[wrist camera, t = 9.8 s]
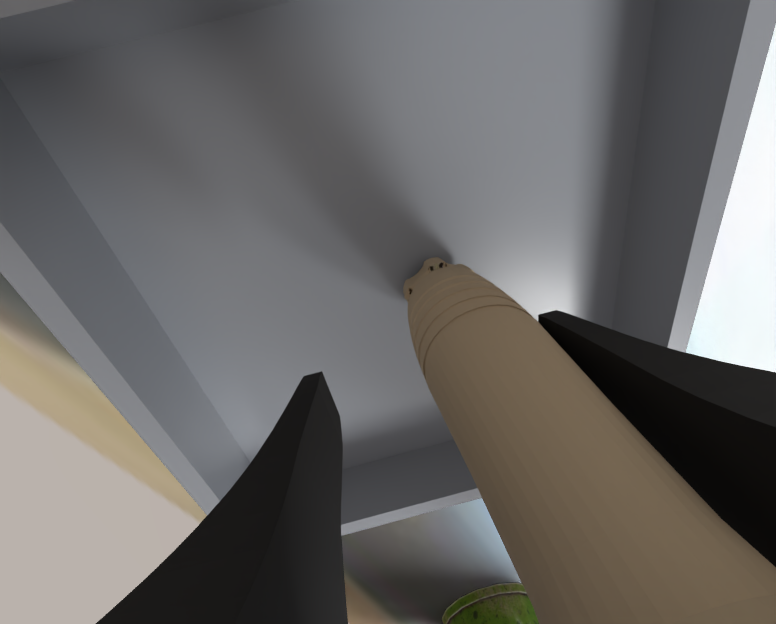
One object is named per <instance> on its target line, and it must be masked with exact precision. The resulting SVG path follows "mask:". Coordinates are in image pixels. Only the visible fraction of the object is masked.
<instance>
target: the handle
mask: <svg viewBox="0 0 776 624" xmlns="http://www.w3.org/2000/svg"><path fill="white" fill-rule="evenodd" d="M403 293H404V297H405V299H406V300H407V302H408V322H409V328H410V334H411V338H412V342H413V346H414V350H415V354H416V356H417V359H418V362H419V365H420V367H421V370H422V372H423V375H424V378H425V380H426V383H427V385H428V388H429V390H430V392H431V394H432V396H433V398H434V400H435V402H436V404H437V406H438V408H439V410H440V412H441V414H442V416H443V418H444V420H445V422H446V424H447V426H448V428H449V431H450V433H451V435H452V437H453V439H454V441H455V443H456V445H457V447H458V449H459V451H460V453H461V455H462V457H463V459H464V461H465V463H466V465H467V467H468V469H469V471H470V473H471V475H472V477H473V479H474V481H475V484H476V486H477V488H478V490H479V492H480V494H481V496H482V499H483V501H484V503H485V505H486V507H487V509H488V511H489V514H490V516H491V518H492V520H493V522H494V524H495V526H496V529H497V531H498V533H499V535H500V537H501V539H502V541H503V544H504V546H505V548H506V550H507V552H508V554H509V556H510V559H511V561H512V563H513V565H514V567H515V569H516V571H517V574H518V576H519V578H520V580H521V582H522V584H523V586H524V589H525V591H526V593H527V595H528V597H529V599H530V601H531V604H532V606H533V608H534V611H535V613H536V616H537V619H538V622H539V624H776V567H775V566H774V565H773V564H771V563H770V562H769V561H768V560H767V559H766V558H765V557H764V556H762V555H761V554H760V553H759V552H758V551H757V550H756V549H755V548H753V547H752V546H751V545H750V544H749V543H748V542H747V541H746V540H745V539H743V538H742V537H741V536H740V535H739V534H738V533H737V532H736V531H734V530H733V529H732V528H731V527H730V526H729V525H728V524H727V523H726V522H724V521H723V520H722V519H721V518H720V517H719V516H718V515H717V514H716V513H715V512H714V510H713V509H712V508H711V507H710V506H709V505H708V504H707V503H706V502H705V501H704V500H703V499H702V498H701V497H700V496H699V495H698V494H697V492H696V491H695V490H694V489H693V488H692V487H691V486H690V485H689V484H688V483H687V482H686V481H685V480H684V479H683V478H682V477H681V476H680V475H679V473H678V472H677V471H676V470H675V469H674V468H673V467H672V466H671V465H670V464H669V463H668V462H667V461H666V460H665V459H664V458H663V457H662V456H661V454H660V453H659V452H658V451H657V450H656V449H655V448H654V447H653V446H652V445H651V444H650V443H649V442H648V441H647V440H646V439H645V438H644V436H643V435H642V434H641V433H640V432H639V431H638V430H637V429H636V428H635V427H634V426H633V425H632V424H631V423H630V422H629V421H628V420H627V419H626V417H625V416H624V415H623V414H622V413H621V412H620V411H619V410H618V409H617V408H616V407H615V406H614V405H613V404H612V403H611V402H610V400H609V399H608V398H607V397H606V396H605V395H604V394H603V393H602V392H601V390H600V389H599V388H598V387H597V386H596V385H595V384H594V383H593V382H592V381H591V379H590V378H589V377H588V376H587V375H586V374H585V373H584V372H583V371H582V370H581V368H580V367H579V366H578V365H577V364H576V363H575V362H574V361H573V360H572V359H571V357H570V356H569V355H568V354H567V353H566V352H565V351H564V350H563V349H562V348H561V346H560V345H559V344H558V343H557V342H556V341H555V340H554V339H553V338H552V337H551V335H550V334H549V333H548V332H547V331H546V330H545V329H544V328H543V327H542V326H541V324H540V323H539V322H538V321H537V320H536V319H534V318H533V317H532V316H531V315H530V314H529V313H528V312H527V311H526V310H525V309H524V308H523V307H522V306H521V305H520V304H518V303H517V302H516V301H515V300H514V299H512V298H511V297H510V296H509V295H508V294H506V293H505V292H504V291H502V290H501V289H500V288H498V287H497V286H495V285H494V284H493V283H491V282H490V281H488V280H487V279H485V278H483V277H482V276H480V275H478V274H476V273H475V272H474V271H473V270H472V269H470V268H469V267H467V266H465V265H463V264H457V265H454V264H448V263H446V262H444V261H443V260H442V259H440V258H438V257H433V258H429V259H427V260H425V261H424V264H423V266H422V268H421V269H420V270H419V272H418V273H417V274H415V275H414V276H413V277H411V278H409V279H407V280H406V281H405V283H404V287H403Z"/></svg>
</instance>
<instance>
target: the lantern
mask: <svg viewBox="0 0 776 624" xmlns="http://www.w3.org/2000/svg"><path fill="white" fill-rule="evenodd" d="M442 621H443V624H539V622H538V619H537V616H536V613H535V611H534V608H533V606H532V604H531V601H530V599H529V597H528V595H527V593H526V591H525V589H524V586H523V584H522V583H503V584H495V585H492V586H488V587H485V588H481V589H477V590H475V591H473V592H471V593H469V594H467V595H465V596H463V597H461V598H459V599H458V600H456V601H455V602H454V603H453V604H452V605H450V606H449V607H448V608H447V609H446V611H445V613H444V615H443V617H442Z"/></svg>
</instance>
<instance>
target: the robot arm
mask: <svg viewBox="0 0 776 624" xmlns="http://www.w3.org/2000/svg"><path fill="white" fill-rule="evenodd" d="M538 322H539V323H540V324H541V326H542V327H543V328H544V329H545V330H546V331H547V332H548V333H549V334H550V335H551V337H552V338H553V339H554V340H555V341H556V342H557V343H558V344H559V345H560V346H561V348H562V349H563V350H564V351H565V352H566V353H567V354H568V355H569V356H570V357H571V359H572V360H573V361H574V362H575V363H576V364H577V365H578V366H579V367H580V368H581V370H582V371H583V372H584V373H585V374H586V375H587V376H588V377H589V378H590V379H591V381H592V382H593V383H594V384H595V385H596V386H597V387H598V388H599V389H600V390H601V392H602V393H603V394H604V395H605V396H606V397H607V398H608V399H609V400H610V402H611V403H612V404H613V405H614V406H615V407H616V408H617V409H618V410H619V411H620V412H621V413H622V414H623V415H624V416H625V417H626V419H627V420H628V421H629V422H630V423H631V424H632V425H633V426H634V427H635V428H636V429H637V430H638V431H639V432H640V433H641V434H642V435H643V436H644V438H645V439H646V440H647V441H648V442H649V443H650V444H651V445H652V446H653V447H654V448H655V449H656V450H657V451H658V452H659V453H660V454H661V456H662V457H663V458H664V459H665V460H666V461H667V462H668V463H669V464H670V465H671V466H672V467H673V468H674V469H675V470H676V471H677V472H678V473H679V475H680V476H681V477H682V478H683V479H684V480H685V481H686V482H687V483H688V484H689V485H690V486H691V487H692V488H693V489H694V490H695V491H696V492H697V494H698V495H699V496H700V497H701V498H702V499H703V500H704V501H705V502H706V503H707V504H708V505H709V506H710V507H711V508H712V509H713V510H714V512H715V513H716V514H717V515H718V516H719V517H720V518H721V519H722V520H723V521H724V522H726V523H727V524H728V525H729V526H730V527H731V528H732V529H733V530H734V531H736V532H737V533H738V534H739V535H740V536H741V537H742V538H743V539H745V540H746V541H747V542H748V543H749V544H750V545H751V546H752V547H753V548H755V549H756V550H757V551H758V552H759V553H760V554H761V555H762V556H764V557H765V558H766V559H767V560H768V561H769V562H770V563H771V564H773V565H774V566H775V567H776V373H775V372H770V371H765V370H760V369H755V368H749V367H744V366H739V365H735V364H730V363H725V362H721V361H717V360H713V359H709V358H705V357H701V356H696V355H692V354H688V353H685V352H681V351H677V350H674V349H670V348H667V347H664V346H661V345H657V344H654V343H651V342H648V341H644V340H641V339H638V338H635V337H632V336H629V335H626V334H624V333H621V332H618V331H615V330H612V329H609V328H607V327H604V326H601V325H598V324H596V323H593V322H590V321H587V320H585V319H582V318H579V317H576V316H574V315H571V314H568V313H565V312H561V311H558V310H555V311H551V312H547V313H543V314H539V315H538ZM342 461H343V442H342V430H341V421H340V415H339V412H338V410H337V407H336V405H335V402H334V400H333V397H332V395H331V392H330V390H329V387H328V385H327V382H326V380H325V377H324V375H323V372H322V371H321V372H317V373H313V374H310V375H306V376H303V378H302V379H301V381H300V383H299V385H298V386H297V388H296V390H295V392H294V394H293V395H292V397H291V399H290V401H289V403H288V404H287V406H286V408H285V410H284V411H283V413H282V415H281V416H280V418H279V420H278V422H277V423H276V425H275V427H274V428H273V430H272V431H271V433H270V435H269V436H268V438H267V439H266V441H265V442H264V444H263V445H262V447H261V448H260V450H259V451H258V453H257V454H256V456H255V457H254V459H253V460H252V462H251V463H250V464H249V466H248V467H247V468H246V470H245V471H244V472H243V474H242V475H241V476H240V477H239V479H238V480H237V481H236V483H235V484H234V485H233V486H232V488H231V489H230V490H229V491H228V492H227V494H226V495H225V496H224V497H223V498H222V499H221V501H220V502H219V503H218V504H217V505H216V506H215V507H214V509H213V510H212V511H211V512H210V513H209V514H208V515H207V516H206V518H205V519H204V520H203V521H202V522H201V523H200V524H199V526H198V527H197V528H196V529H195V530H194V531H193V532H192V533H191V534H190V535H189V536H188V537H187V538H186V539H185V540H184V541H183V542H182V543H181V545H179V547H178V548H177V549H176V550H175V551H174V552H173V553H172V554H171V555H170V556H168V557H167V559H165V560H164V562H162V563H161V564H160V565H159V567H157V568H156V569H155V570H154V571H153V572H152V573H151V574H150V575H149V576H148V577H147V578H146V579H145V580H144V581H143V582H141V583H140V584H139V585H138V586H137V587H136V588H135V589H134V590H133V591H132V592H130V593H129V594H128V595H127V596H126V597H125V598H124V599H123V600H122V601H121V602H119V603H118V604H117V605H116V606H115V607H114V608H113V609H112V610H111V611H110V612H108V613H107V614H106V615H105V616H104V617H103V618H102V619H101V620H99V621H98V622H97V623H96V624H348V619H347V608H346V595H345V583H344V570H343V554H342V539H341V496H342Z"/></svg>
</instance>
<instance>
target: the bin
mask: <svg viewBox="0 0 776 624" xmlns="http://www.w3.org/2000/svg"><path fill="white" fill-rule="evenodd" d="M775 24H776V0H0V272H1V273H2V275H3V276H4V277H5V278H6V279H7V281H8V282H9V283H10V284H11V285H12V286H13V288H14V289H15V290H16V291H17V292H18V293H19V295H20V296H21V297H22V298H23V299H24V301H25V302H26V303H27V304H28V305H29V306H30V308H31V309H32V310H33V311H34V312H35V313H36V315H37V316H38V317H39V318H40V319H41V320H42V322H43V323H44V324H45V325H46V326H47V328H48V329H49V330H50V331H51V332H52V333H53V335H54V336H55V337H56V338H57V339H58V340H59V342H60V343H61V344H62V345H63V346H64V348H65V349H66V350H67V351H68V352H69V353H70V355H71V356H72V357H73V358H74V359H75V360H76V362H77V363H78V364H79V365H80V366H81V368H82V369H83V370H84V371H85V372H86V373H87V375H88V376H89V377H90V378H91V379H92V380H93V382H94V383H95V384H96V385H97V386H98V388H99V389H100V390H101V391H102V392H103V393H104V395H105V396H106V397H107V398H108V399H109V400H110V402H111V403H112V404H113V405H114V406H115V408H116V409H117V410H118V411H119V412H120V413H121V415H122V416H123V417H124V418H125V419H126V420H127V422H128V423H129V424H130V425H131V426H132V428H133V429H134V430H135V431H136V432H137V433H138V435H139V436H140V437H141V438H142V439H143V440H144V442H145V443H146V444H147V445H148V446H149V447H150V449H151V450H152V451H153V452H154V453H155V455H156V456H157V457H158V458H159V459H160V460H161V462H162V463H163V464H164V465H165V466H166V467H167V469H168V470H169V471H170V472H171V473H172V475H173V476H174V477H175V478H176V479H177V480H178V482H179V483H180V484H181V485H182V486H183V487H184V489H185V490H186V491H187V492H188V493H189V495H190V496H191V497H192V498H193V499H194V500H195V502H196V503H197V504H198V505H199V506H200V507H201V509H202V510H203V511H204V512H205V513H206V515H208V514H209V513H210V512H211V511H212V510H213V509H214V507H215V506H216V505H217V504H218V503H219V502H220V501H221V499H222V498H223V497H224V496H225V495H226V494H227V492H228V491H229V490H230V489H231V488H232V486H233V485H234V484H235V483H236V481H237V480H238V479H239V477H240V476H241V475H242V474H243V472H244V471H245V470H246V468H247V467H248V466H249V464H250V463H251V462H252V460H253V459H254V457H255V456H256V454H257V453H258V451H259V450H260V448H261V447H262V445H263V444H264V442H265V441H266V439H267V438H268V436H269V435H270V433H271V431H272V430H273V428H274V427H275V425H276V423H277V422H278V420H279V418H280V416H281V415H282V413H283V411H284V410H285V408H286V406H287V404H288V403H289V401H290V399H291V397H292V395H293V394H294V392H295V390H296V388H297V386H298V385H299V383H300V381H301V379H302V378H303V376H306V375H310V374H313V373H317V372H321V371H322V372H323V375H324V377H325V380H326V382H327V385H328V387H329V390H330V392H331V395H332V397H333V400H334V402H335V405H336V407H337V410H338V412H339V415H340V421H341V430H342V442H343V461H342V496H341V536H342V535H346V534H350V533H354V532H357V531H361V530H365V529H368V528H372V527H376V526H379V525H383V524H387V523H391V522H394V521H398V520H402V519H405V518H409V517H413V516H416V515H420V514H424V513H428V512H431V511H435V510H439V509H442V508H446V507H450V506H453V505H457V504H461V503H465V502H468V501H472V500H476V499H479V498H482V496H481V494H480V492H479V490H478V488H477V486H476V484H475V481H474V479H473V477H472V475H471V473H470V471H469V469H468V467H467V465H466V463H465V461H464V459H463V457H462V455H461V453H460V451H459V449H458V447H457V445H456V443H455V441H454V439H453V437H452V435H451V433H450V431H449V428H448V426H447V424H446V422H445V420H444V418H443V416H442V414H441V412H440V410H439V408H438V406H437V404H436V402H435V400H434V398H433V396H432V394H431V392H430V390H429V388H428V385H427V383H426V380H425V378H424V375H423V372H422V370H421V367H420V365H419V362H418V359H417V356H416V354H415V350H414V346H413V342H412V338H411V334H410V328H409V322H408V302H407V300H406V299H405V297H404V293H403V287H404V283H405V281H406V280H407V279H409V278H411V277H413V276H414V275H415V274H417V273H418V272H419V270H420V269H421V268H422V266H423V264H424V261H425V260H427V259H429V258H433V257H438V258H440V259H442V260H443V261H444V262H446V263H448V264H454V265H457V264H463V265H465V266H467V267H469V268H470V269H472V270H473V271H474V272H475V273H476V274H478V275H480V276H482V277H483V278H485V279H487V280H488V281H490V282H491V283H493V284H494V285H495V286H497V287H498V288H500V289H501V290H502V291H504V292H505V293H506V294H508V295H509V296H510V297H511V298H512V299H514V300H515V301H516V302H517V303H518V304H520V305H521V306H522V307H523V308H524V309H525V310H526V311H527V312H528V313H529V314H530V315H531V316H532V317H533V318H534V319H536V320H537V321H538V315H539V314H543V313H547V312H551V311H555V310H558V311H561V312H565V313H568V314H571V315H574V316H576V317H579V318H582V319H585V320H587V321H590V322H593V323H596V324H598V325H601V326H604V327H607V328H609V329H612V330H615V331H618V332H621V333H624V334H626V335H629V336H632V337H635V338H638V339H641V340H644V341H648V342H651V343H654V344H657V345H661V346H664V347H667V348H670V349H674V350H677V351H681V352H686V349H687V345H688V341H689V338H690V334H691V330H692V327H693V323H694V319H695V316H696V312H697V308H698V305H699V301H700V297H701V294H702V290H703V287H704V283H705V279H706V276H707V272H708V268H709V265H710V261H711V257H712V254H713V250H714V246H715V243H716V239H717V235H718V232H719V228H720V225H721V221H722V217H723V214H724V210H725V206H726V203H727V199H728V195H729V192H730V188H731V184H732V181H733V177H734V174H735V170H736V166H737V163H738V159H739V155H740V152H741V148H742V144H743V141H744V137H745V133H746V130H747V126H748V122H749V119H750V115H751V112H752V108H753V104H754V101H755V97H756V93H757V90H758V86H759V82H760V79H761V75H762V71H763V68H764V64H765V60H766V57H767V53H768V50H769V46H770V42H771V39H772V35H773V31H774V28H775Z"/></svg>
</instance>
